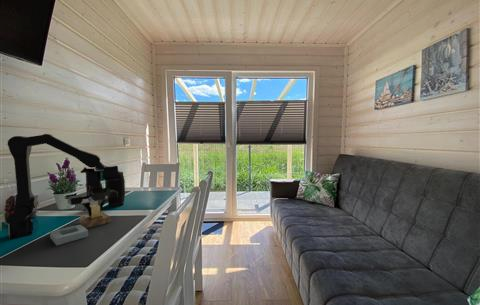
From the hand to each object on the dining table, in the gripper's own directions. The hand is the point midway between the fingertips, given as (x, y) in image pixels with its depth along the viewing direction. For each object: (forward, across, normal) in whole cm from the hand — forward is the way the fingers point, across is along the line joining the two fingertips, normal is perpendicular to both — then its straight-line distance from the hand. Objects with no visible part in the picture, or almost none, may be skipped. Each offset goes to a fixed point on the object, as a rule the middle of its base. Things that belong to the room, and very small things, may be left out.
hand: (94, 215), depth 104 cm
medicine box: (+4, +6, +22) cm, 23 cm away
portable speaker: (+4, +18, +22) cm, 29 cm away
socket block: (+4, -12, -10) cm, 16 cm away
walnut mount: (+4, 0, 0) cm, 4 cm away
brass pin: (+4, 0, 0) cm, 4 cm away
